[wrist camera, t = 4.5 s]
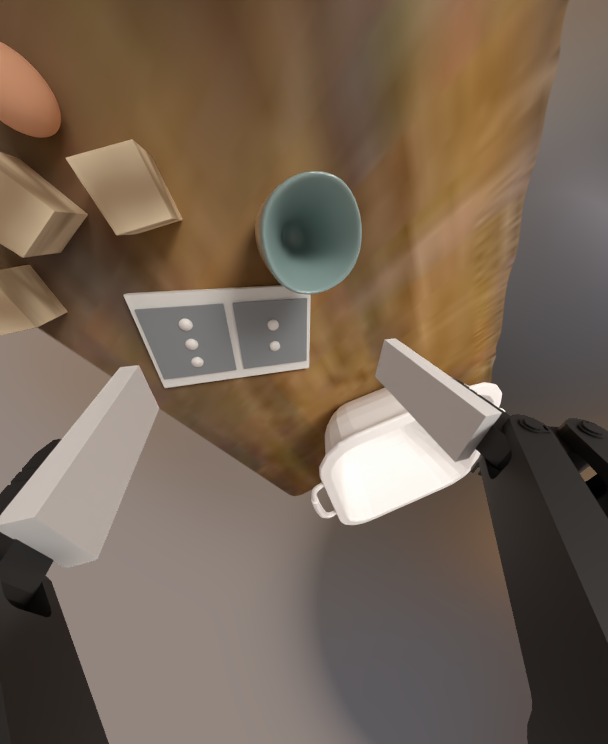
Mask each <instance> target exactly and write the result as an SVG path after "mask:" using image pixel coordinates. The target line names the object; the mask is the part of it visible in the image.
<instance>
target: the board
mask: <svg viewBox="0 0 608 744" xmlns="http://www.w3.org/2000/svg"><path fill="white" fill-rule="evenodd" d="M123 296H124V298H125V300H126V302H127V305H128V307H129V309H130V311H131V314H132V316H133V318H134V320H135V323H136V325H137V327H138V329H139V332H140V334H141V336H142V338H143V341H144V343H145V345H146V347H147V350H148V352H149V354H150V356H151V359H152V361H153V363H154V365H155V368H156V370H157V372H158V374H159V377H160V379H161V381H162V383H163V386H164V388H169V387H176V386H183V385H190V384H197V383H204V382H212V381H219V380H226V379H233V378H240V377H247V376H254V375H261V374H268V373H275V372H282V371H290V370H297V369H304V368H309V344H310V294H309V295H307V294H298V293H295V292H293V291H290V290H288V289H287V288H285V287H284V286H283V285H275V286H256V287H237V288H218V289H199V290H180V291H161V292H142V293H126V294H124V295H123Z"/></svg>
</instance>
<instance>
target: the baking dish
mask: <svg viewBox="0 0 608 744" xmlns="http://www.w3.org/2000/svg"><path fill="white" fill-rule="evenodd" d="M465 385H466V384H465ZM466 386H468V387H469V389H472V390H474V391H475V392H476V393H477V394H479V395H481V396H482V397H484V398H485V399H487V400H488V401H490V402H491V403H492V404H494V405H495V406H497V407H498V408H499V406H500V403H501V398H502V392H501V391H500V390H499V388H498V386H497V385H495V384H491V383H485V382H484V383H480V384H476V385H472V386H469V385H466ZM500 409H501V408H500ZM501 410H503V409H501ZM503 411H504V412H505V410H503ZM325 453H326V455H325V457H324V459H323V460H322V462H321V464H320V466H319V472H320V479H321V481H322V483H320V484H318V485H316V486H315V487H314V488H313V489H312V492H311V501H312V504H313V507H314V509H315V510H316V512H317V513H318V514H319V515H320V516H321V517H322V518H331V517H333V516H334V515H336V514H337V515H338V517H339V520H340V521H341V522H342V523H344V524H346V525H356V524H361V523H365V522H368V521H370V520H373V519H375V518H378V517H380V516H382V515H384V514H387V513H389V512H391V511H393V510H396V509H398V508H400V507H402V506H405V505H407V504H409V503H411V502H414V501H416V500H418V499H420V498H423V497H425V496H427V495H430V494H432V493H434V492H436V491H439V490H441V489H443V488H445V487H447V486H449V485H451V484H453V483H455V482H456V481H458V480H459V479H461V478H462V477H464V476H465V475H466V474H467V473H468V472H469V471H470V470H471V467H472V466H473V464H474V463H475V462H476V460H477V459H478V458H479V455H480V453H479V452H478V451H477V450H476V449H475V451H474V452H473V454H472V455H471V456H470V458H468V459H465V460H461V461H457V462H454V461H453V459H452V458H451V457H450V456H449V455H448V454H447V453H446V452H445V451H444V450H443V449H442V448H441V447H440V446H439V445H438V443H437V442H436V441H435V440H434V439H433V438H432V437H431V436H430V435H429V434H428V433H427V432H426V431H425V430H424V428H423V427H422V426H421V425H420V424H419V423H418V422H417V421H416V420H415V419H414V418H413V417H412V416H411V415H410V413H409V412H408V411H407V410H406V409H405V408H404V407H403V406H402V405H401V404H400V403H399V402H398V401H397V400H396V398H395V397H394V396H393V395H392V394H391V393H390V392H389V391H388V390H387V389H386V388H385V387H384V388H382V389H379V390H377V391H375V392H372V393H370V394H367V395H365V396H362V397H360V398H357V399H355V400H352V401H350V402H347V403H345V404H343V405H342V406H340V407H339V408H338V409H337V410H336V411H335V412H334V414H333V415H332V417H331V419H330V421H329V423H328V425H327V427H326V432H325ZM323 487H325V489H326V492H327V494H328V496H329V498H330V500H331V502H332V505H333V506H334V509H335V510H334V511H332V512H325V510H324V508H323V507H322V506H321V504H320V502H319V499H318V497H317V492H318V491H319V490H320V489H321V488H323Z"/></svg>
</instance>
